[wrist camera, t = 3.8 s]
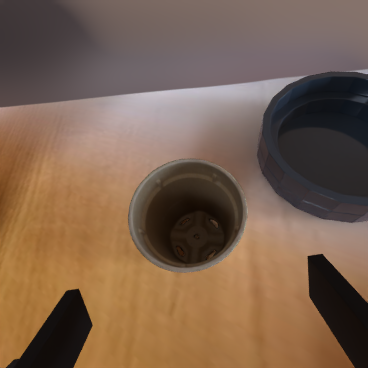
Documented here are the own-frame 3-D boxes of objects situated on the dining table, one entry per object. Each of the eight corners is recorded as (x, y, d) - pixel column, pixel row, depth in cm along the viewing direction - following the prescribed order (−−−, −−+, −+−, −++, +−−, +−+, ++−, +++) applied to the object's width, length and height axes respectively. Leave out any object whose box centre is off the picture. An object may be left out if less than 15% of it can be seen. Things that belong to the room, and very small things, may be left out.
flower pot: (139, 255, 26) (104, 234, 19) (180, 186, 29) (165, 144, 22) (216, 302, 23) (213, 299, 15) (254, 218, 26) (266, 182, 19)
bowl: (228, 160, 30) (229, 134, 25) (310, 87, 34) (324, 53, 29) (356, 258, 23) (389, 246, 18) (443, 153, 26) (489, 121, 22)
